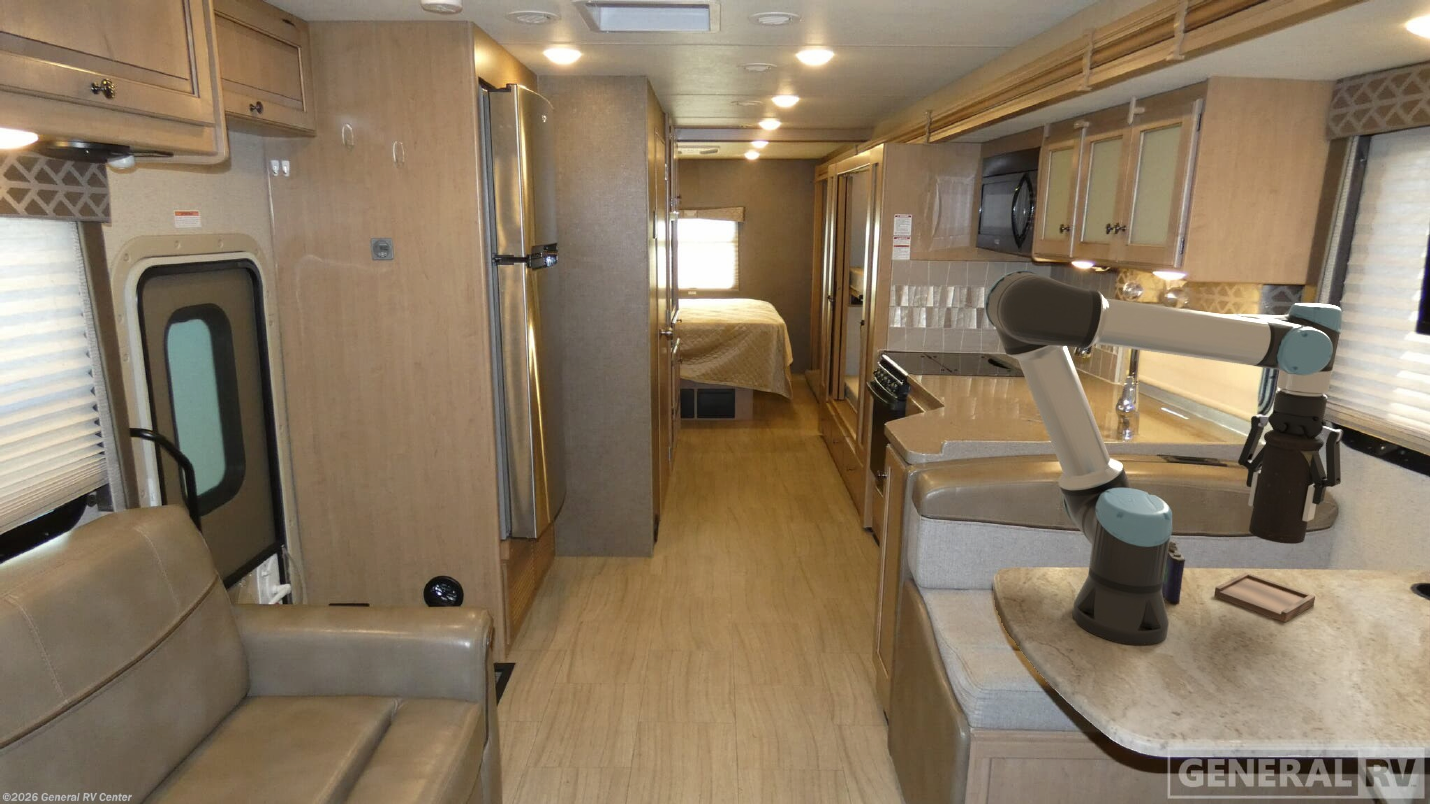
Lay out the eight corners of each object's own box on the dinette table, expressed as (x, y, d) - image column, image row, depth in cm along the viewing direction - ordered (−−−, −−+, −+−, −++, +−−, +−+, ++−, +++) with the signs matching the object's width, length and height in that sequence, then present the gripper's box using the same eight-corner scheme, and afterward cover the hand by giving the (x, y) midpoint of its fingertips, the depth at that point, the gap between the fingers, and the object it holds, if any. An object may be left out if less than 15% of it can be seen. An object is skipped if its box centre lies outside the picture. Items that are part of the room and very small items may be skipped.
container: (1314, 547, 144) (1335, 440, 139) (1259, 543, 146) (1277, 436, 141) (1291, 529, 152) (1310, 427, 148) (1238, 525, 154) (1256, 424, 149)
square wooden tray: (1284, 622, 144) (1286, 613, 144) (1214, 595, 154) (1215, 587, 153) (1313, 605, 150) (1315, 596, 150) (1244, 580, 160) (1245, 572, 160)
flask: (1146, 582, 159) (1154, 531, 157) (1161, 582, 159) (1169, 532, 156) (1167, 604, 150) (1176, 551, 148) (1184, 605, 150) (1193, 552, 148)
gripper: (1382, 400, 136) (1356, 526, 141) (1247, 378, 153) (1228, 491, 158) (1364, 405, 132) (1339, 535, 137) (1228, 383, 149) (1209, 498, 154)
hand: (1280, 511), depth 148 cm, fingers closed on container, 8 cm apart
